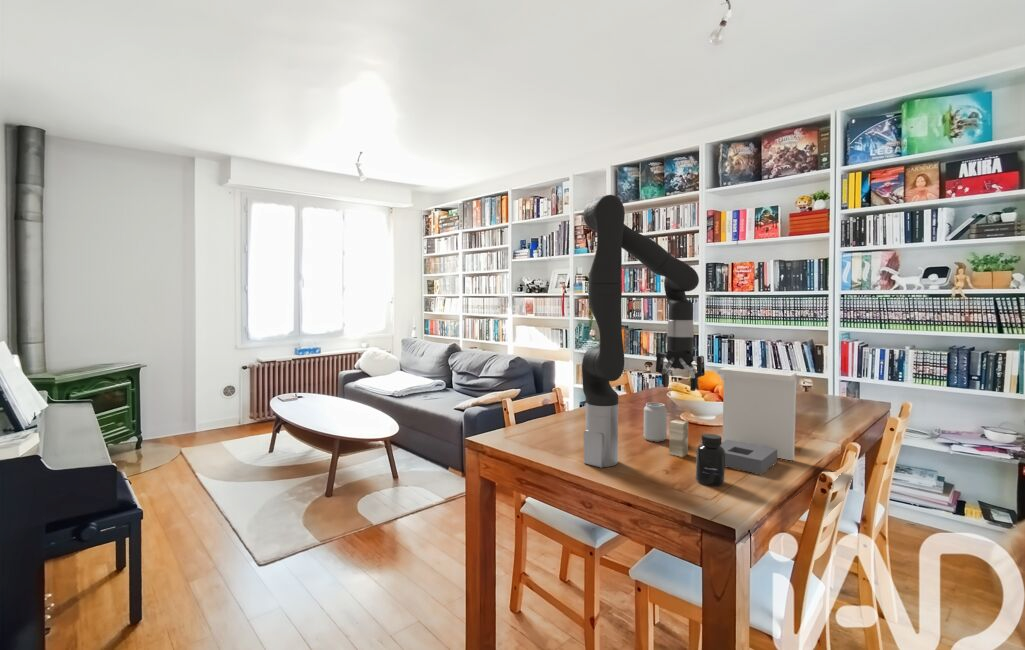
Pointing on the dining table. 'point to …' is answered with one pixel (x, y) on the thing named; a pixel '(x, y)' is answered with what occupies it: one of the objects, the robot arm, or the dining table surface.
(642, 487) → the dining table surface
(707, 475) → the supplement bottle
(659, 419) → the can
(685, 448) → the peg
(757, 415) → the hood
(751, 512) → the dining table surface
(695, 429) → the dining table surface
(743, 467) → the socket
